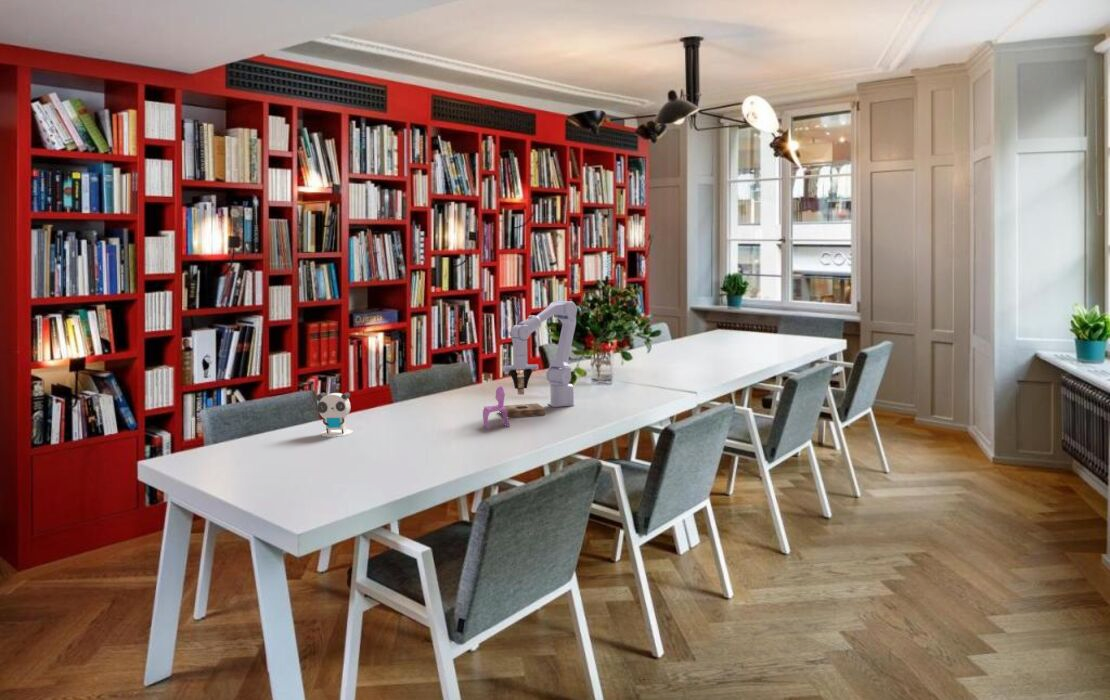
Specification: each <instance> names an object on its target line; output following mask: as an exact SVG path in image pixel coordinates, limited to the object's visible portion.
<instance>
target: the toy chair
mask: <svg viewBox="0 0 1110 700" xmlns="http://www.w3.org/2000/svg"><path fill="white" fill-rule="evenodd" d="M505 393H506V391H505V387H504V386H497V388H496V390H495V397H494V398H495V399H496V401H497V403H498V404H497V405H489V406H487V405H486V406H483V409H482V420H483V421H482V422H483V427H485V428H486V427H487V428H486V429H488V428H489V429H488V430H491V427H490V425H489V415H490V414H491V413H494V412H499V411H501V412H502V414H501V415H502V422H503V425H505V424H506V425H505V426H507V425H508V426H510V427H511V425H510V422H509V420H508V419H509V418H507V411H506V408H505V407H503V406H504V402H505V395H506V394H505ZM508 426H507V427H508Z"/></svg>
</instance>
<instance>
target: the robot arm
mask: <svg viewBox="0 0 1110 700" xmlns="http://www.w3.org/2000/svg"><path fill="white" fill-rule="evenodd" d="M577 313H578V307H577V305H576V304H575V302H574V301H571V300H569V301H568V300H567V301H566V300H558V299H557V300H556V299H555V300H554V301H553V302H550V303H549V305H548V306H547V307H545V309H543V310H542V311H540V312H539V313H538V314H537V315H531V314H530V315H528V317H527V318H526V319H525V320H523V321H520V323H519V324H515V325H513V326H512V327H511V328H510V331H509V332H508V333H509V336H510V338H511V343H512V359H513V360H512V362H513V365H512V364H511V365H504V366H503V365H502V366H501V368H502V369H501V370H502V372H509V375H510V377H511V380H512V382H513V386H514V389H515V390H518V385H517V377H519V376H518V372H517V371H523V377H524V382H525V388H524V389H528V384H529V380H530V378H531V375H532V373H533V371H534V370H535V371H536V370H537V371H538V370H539V364H537V363H536V364H528V339H529V338H530V335H531V334H533V333H534V332H535V331H536V330H538V329H540V328H541V326H542V323H543V322H545V321H546V320H549V319H550V318H551V317H553V316H555V317H556V319H558V320H559V321H560V323H561V324H562V326H561V330H560V334H559V335H560V336H559V340H558V343H557V349H556V354H555V357H554V358H555V359H554V360H553V361H552V362H551V363H550V365H549V367H548V369H547V371H546V375H545V376H546V380H547V381H548V384H549V385H550V388H549V389H550V402H547V405H549V406H550V407H551V408H557V407H571V406H575V403H574V402H575V401H574V398H575V397H574V396H575V395H574V386H573V384H572V383H570V382H571V379H572V367H571V365H570V364H569V359H570V358H569V357H570V353H571V348H572V344H573V341H574V334H575V330H576V327H577V326H576V325H577Z"/></svg>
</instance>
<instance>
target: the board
mask: <svg viewBox="0 0 1110 700" xmlns="http://www.w3.org/2000/svg"><path fill="white" fill-rule="evenodd" d="M503 407H505V408H506V411H507V417H513V418H519V417H518V416H526V417H534V416H533V415H539V416H546V408H545V407H543V406H542V405H541V404H539V403H524V404H523V403H522V404H511V405H503ZM498 412H499V413H500V412H501V411H498ZM501 413H502V412H501ZM501 413H500V414H501Z"/></svg>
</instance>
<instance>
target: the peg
mask: <svg viewBox="0 0 1110 700" xmlns="http://www.w3.org/2000/svg"><path fill="white" fill-rule="evenodd" d="M517 385H518V389H517V395H519V396H521V395H525V389H526V388H525V382H524V375H523V376H522V375H521V376H517Z"/></svg>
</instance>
